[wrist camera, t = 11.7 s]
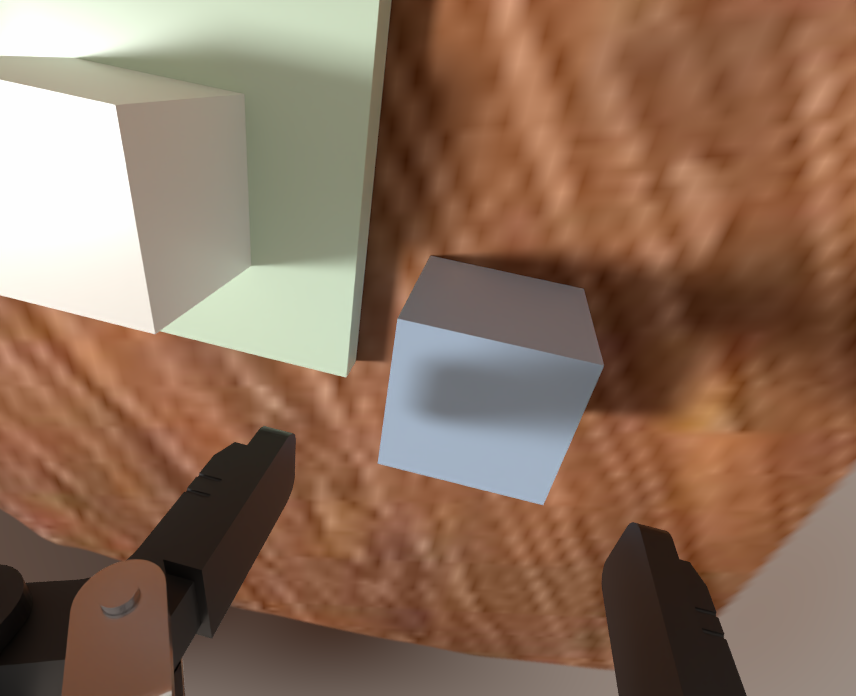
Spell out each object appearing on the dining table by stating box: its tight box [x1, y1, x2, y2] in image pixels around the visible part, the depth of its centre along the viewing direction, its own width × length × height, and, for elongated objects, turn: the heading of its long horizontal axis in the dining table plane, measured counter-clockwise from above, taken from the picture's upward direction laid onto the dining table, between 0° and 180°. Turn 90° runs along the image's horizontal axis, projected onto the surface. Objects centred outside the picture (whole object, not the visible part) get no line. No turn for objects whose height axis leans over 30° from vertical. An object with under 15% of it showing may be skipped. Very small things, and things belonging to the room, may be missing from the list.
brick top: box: [378, 256, 604, 505], centre depth 15 cm, size 5×5×5 cm
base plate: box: [0, 0, 392, 377], centre depth 16 cm, size 13×13×1 cm
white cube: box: [0, 56, 251, 334], centre depth 13 cm, size 5×5×5 cm
